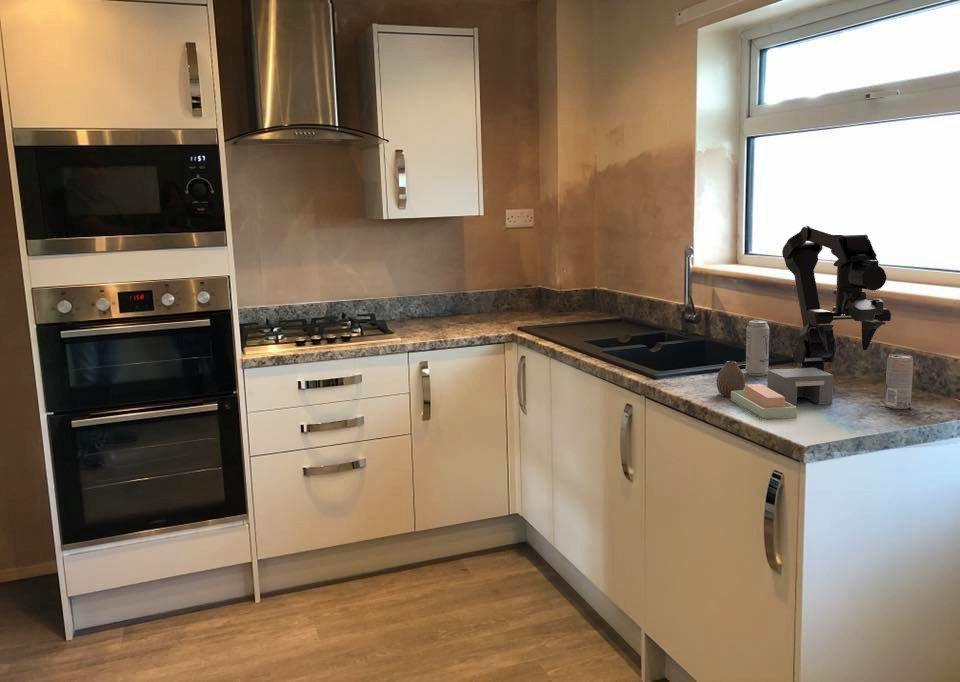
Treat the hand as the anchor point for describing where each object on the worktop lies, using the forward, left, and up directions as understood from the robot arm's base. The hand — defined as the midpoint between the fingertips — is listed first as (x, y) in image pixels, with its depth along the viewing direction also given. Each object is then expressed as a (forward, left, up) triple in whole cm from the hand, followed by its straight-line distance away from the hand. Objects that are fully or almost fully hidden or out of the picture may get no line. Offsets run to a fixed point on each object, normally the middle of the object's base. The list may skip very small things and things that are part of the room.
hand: (846, 350), depth 194 cm
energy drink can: (-32, -8, -12) cm, 35 cm away
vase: (-9, -25, -12) cm, 29 cm away
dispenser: (-1, -11, -12) cm, 16 cm away
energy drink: (+9, +8, -12) cm, 17 cm away
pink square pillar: (+5, -23, -12) cm, 26 cm away
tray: (+5, -23, -12) cm, 26 cm away
